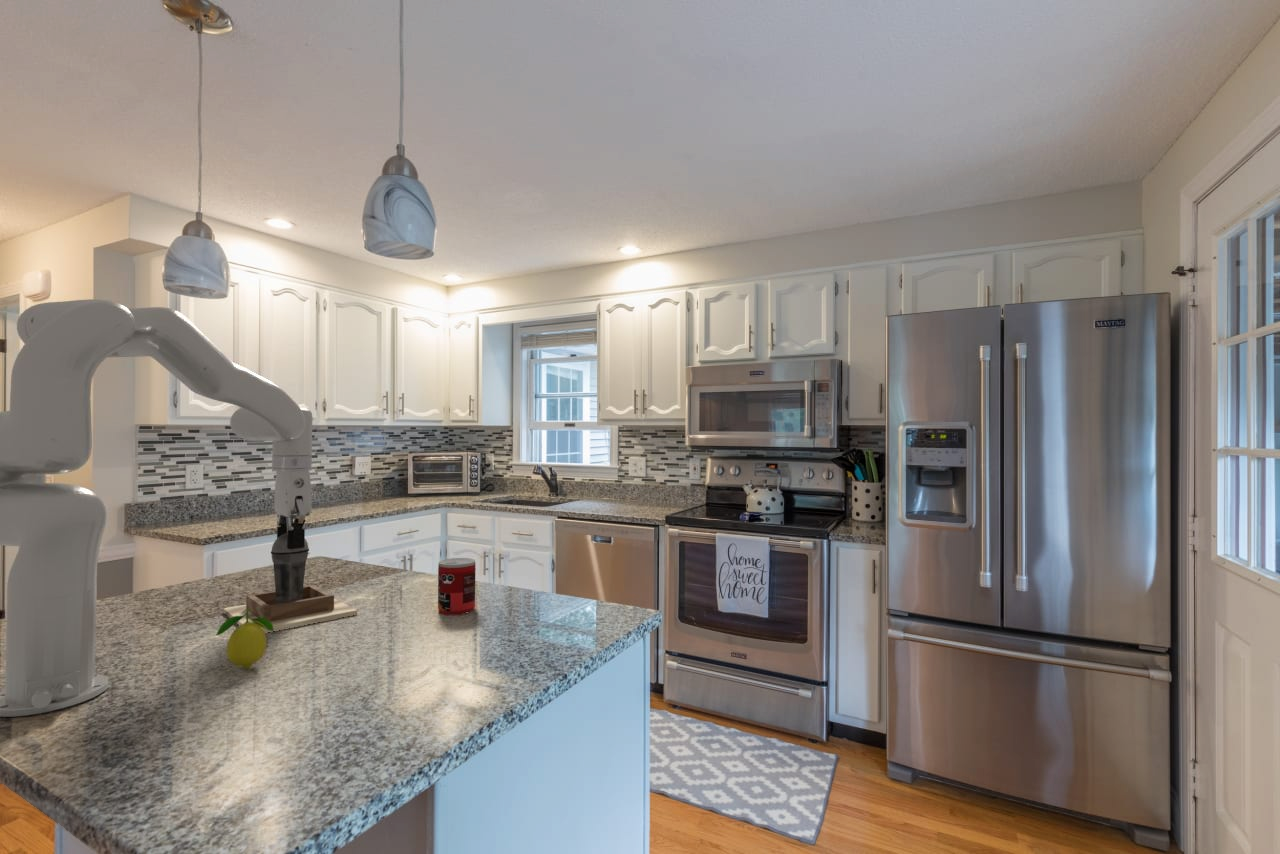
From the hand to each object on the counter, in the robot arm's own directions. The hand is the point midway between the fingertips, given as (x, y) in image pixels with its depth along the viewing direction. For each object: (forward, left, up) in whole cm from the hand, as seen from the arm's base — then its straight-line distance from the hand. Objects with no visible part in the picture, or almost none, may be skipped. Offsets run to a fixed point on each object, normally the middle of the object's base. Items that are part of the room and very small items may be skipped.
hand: (290, 545), depth 132 cm
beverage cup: (0, 0, -13) cm, 13 cm away
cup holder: (0, 0, -15) cm, 15 cm away
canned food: (-23, -27, -15) cm, 39 cm away
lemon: (-29, +15, -15) cm, 36 cm away
